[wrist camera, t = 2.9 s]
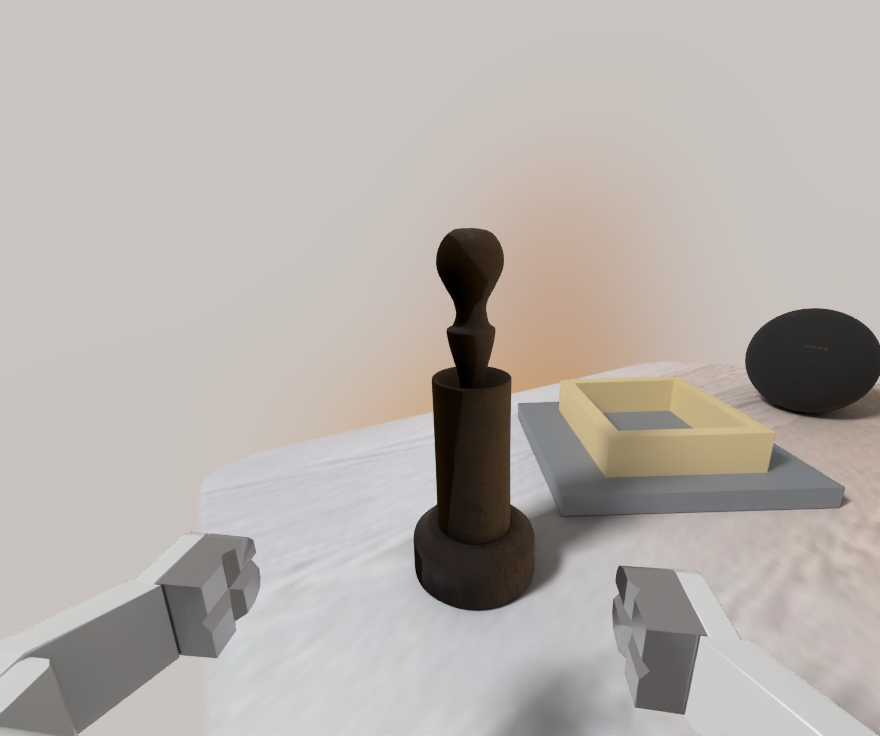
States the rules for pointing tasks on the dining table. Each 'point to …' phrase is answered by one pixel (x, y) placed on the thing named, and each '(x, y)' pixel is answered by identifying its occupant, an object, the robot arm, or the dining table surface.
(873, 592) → the dining table surface
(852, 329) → the speaker
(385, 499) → the dining table surface
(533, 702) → the dining table surface
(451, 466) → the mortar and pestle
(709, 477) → the holder
